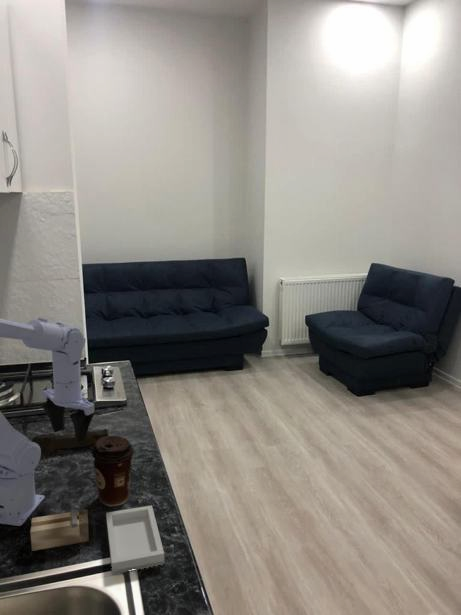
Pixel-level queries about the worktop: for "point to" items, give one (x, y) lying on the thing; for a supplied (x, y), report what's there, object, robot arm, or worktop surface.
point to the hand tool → (66, 440)
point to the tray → (133, 539)
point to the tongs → (59, 529)
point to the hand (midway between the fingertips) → (69, 435)
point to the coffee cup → (112, 469)
